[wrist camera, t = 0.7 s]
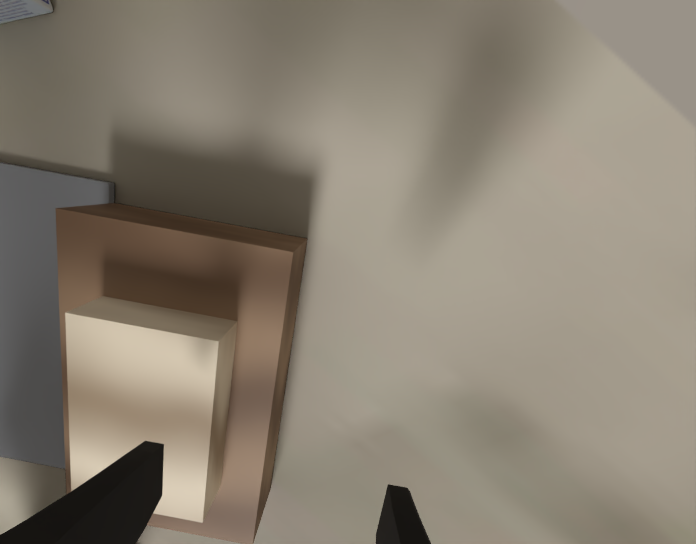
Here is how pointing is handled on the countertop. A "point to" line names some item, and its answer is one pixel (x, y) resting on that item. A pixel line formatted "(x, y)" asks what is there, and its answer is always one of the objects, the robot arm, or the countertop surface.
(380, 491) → the countertop surface
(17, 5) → the medicine box
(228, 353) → the birch tile
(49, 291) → the slate mat
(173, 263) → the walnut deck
